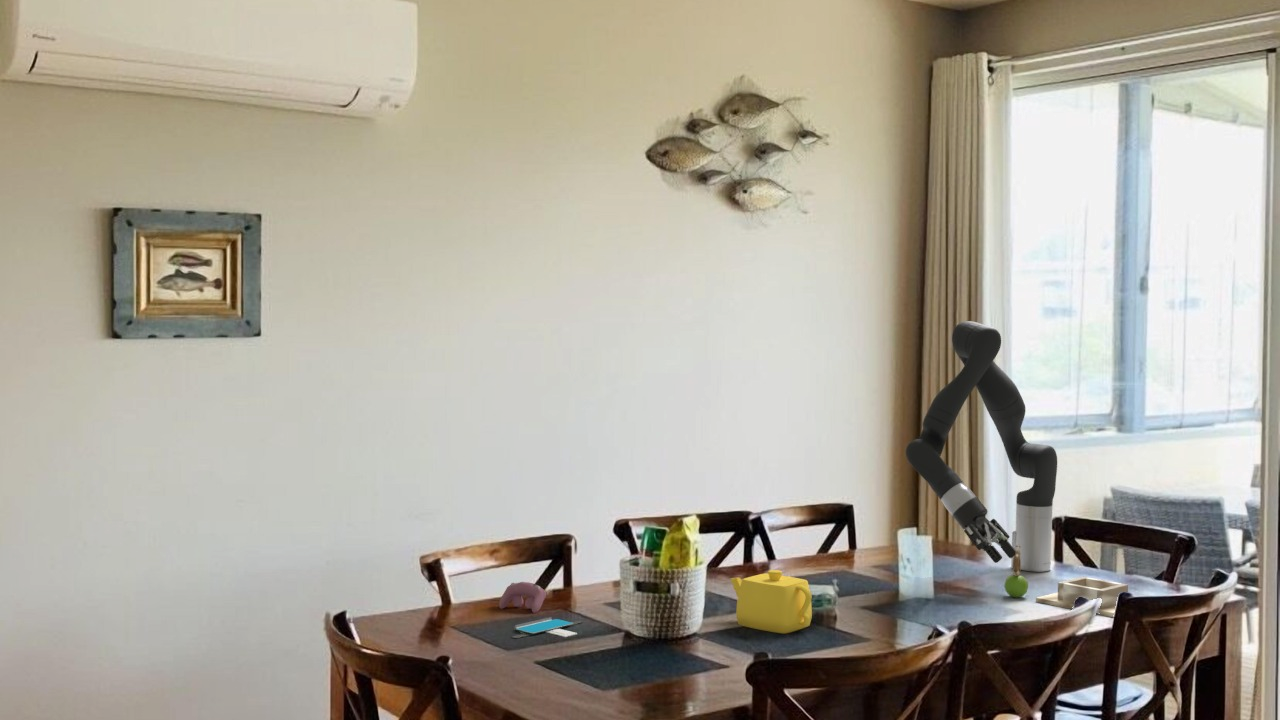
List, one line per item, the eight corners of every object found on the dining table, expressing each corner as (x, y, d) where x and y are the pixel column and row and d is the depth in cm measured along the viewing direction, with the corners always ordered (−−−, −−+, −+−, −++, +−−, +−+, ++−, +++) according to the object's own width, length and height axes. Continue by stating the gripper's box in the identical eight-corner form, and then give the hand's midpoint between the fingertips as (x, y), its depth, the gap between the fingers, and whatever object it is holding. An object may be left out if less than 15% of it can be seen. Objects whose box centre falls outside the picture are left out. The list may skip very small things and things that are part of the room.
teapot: (715, 621, 294) (716, 567, 293) (748, 612, 303) (749, 560, 303) (793, 637, 281) (795, 581, 280) (825, 627, 291) (826, 572, 290)
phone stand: (536, 646, 271) (536, 638, 271) (495, 636, 279) (496, 628, 279) (604, 629, 286) (604, 622, 286) (563, 620, 294) (564, 612, 294)
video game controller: (543, 617, 301) (550, 586, 303) (534, 612, 297) (542, 581, 300) (504, 612, 305) (512, 582, 307) (495, 607, 301) (503, 576, 304)
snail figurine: (1028, 595, 327) (1030, 545, 326) (1027, 600, 321) (1028, 550, 320) (1005, 593, 329) (1006, 544, 328) (1003, 598, 322) (1004, 548, 322)
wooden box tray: (1035, 601, 319) (1036, 580, 319) (1072, 593, 330) (1072, 572, 330) (1114, 617, 305) (1115, 595, 304) (1149, 607, 315) (1150, 586, 315)
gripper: (961, 499, 325) (1005, 552, 318) (986, 493, 336) (1029, 545, 330) (940, 518, 329) (983, 571, 322) (966, 512, 340) (1008, 563, 333)
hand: (1006, 558), depth 326 cm, fingers open, 8 cm apart
